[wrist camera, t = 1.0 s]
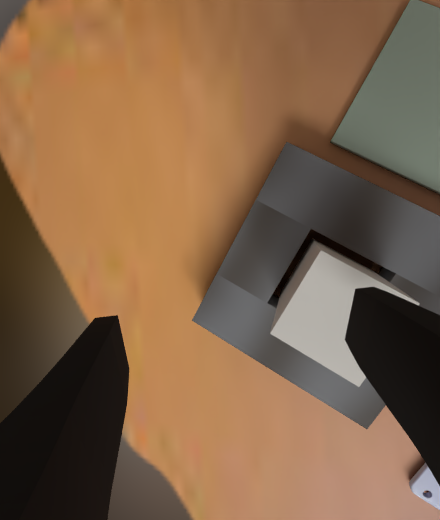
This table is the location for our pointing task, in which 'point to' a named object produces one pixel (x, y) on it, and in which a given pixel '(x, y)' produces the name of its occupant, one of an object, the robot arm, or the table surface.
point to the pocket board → (287, 245)
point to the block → (325, 307)
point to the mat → (401, 102)
